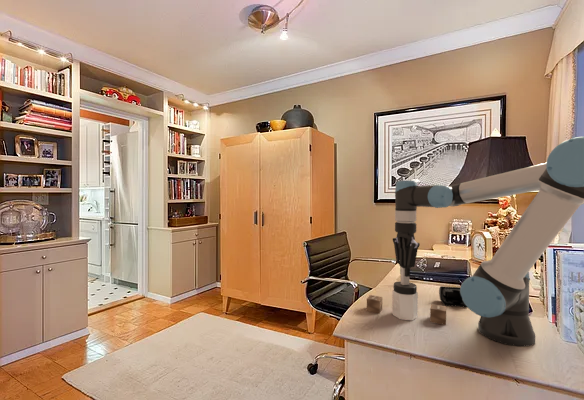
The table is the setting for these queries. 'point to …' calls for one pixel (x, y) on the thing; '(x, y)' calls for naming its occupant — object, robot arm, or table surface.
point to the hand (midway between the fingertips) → (405, 284)
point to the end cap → (451, 296)
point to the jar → (405, 301)
